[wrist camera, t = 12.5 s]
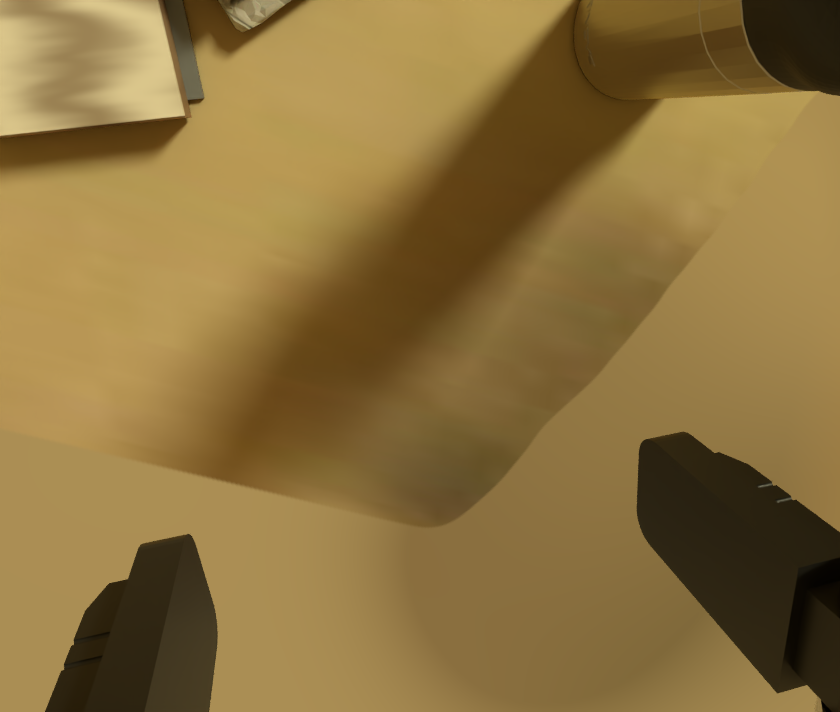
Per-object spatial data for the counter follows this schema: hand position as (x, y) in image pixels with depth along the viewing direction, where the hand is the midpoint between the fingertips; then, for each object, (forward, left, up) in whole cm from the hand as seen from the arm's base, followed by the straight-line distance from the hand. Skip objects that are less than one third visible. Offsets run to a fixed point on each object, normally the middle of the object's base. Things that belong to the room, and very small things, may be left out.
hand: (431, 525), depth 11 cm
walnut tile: (+13, -7, -34) cm, 37 cm away
